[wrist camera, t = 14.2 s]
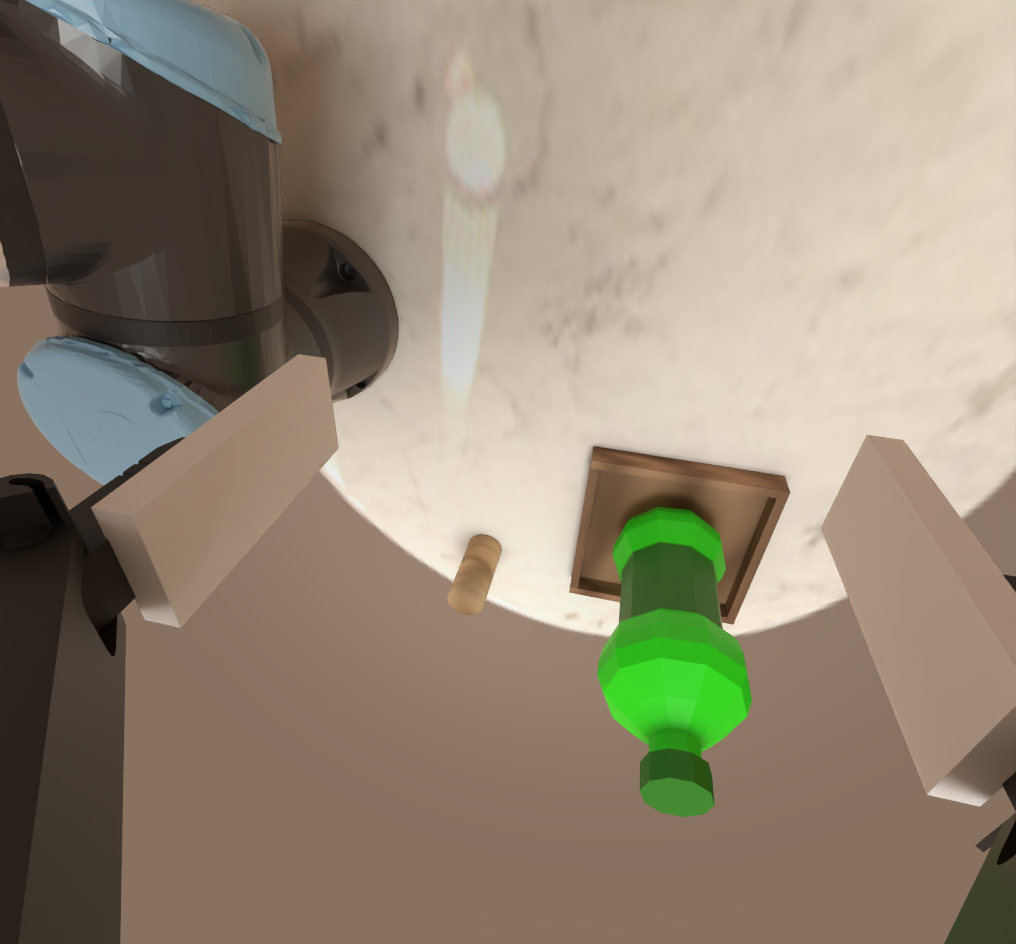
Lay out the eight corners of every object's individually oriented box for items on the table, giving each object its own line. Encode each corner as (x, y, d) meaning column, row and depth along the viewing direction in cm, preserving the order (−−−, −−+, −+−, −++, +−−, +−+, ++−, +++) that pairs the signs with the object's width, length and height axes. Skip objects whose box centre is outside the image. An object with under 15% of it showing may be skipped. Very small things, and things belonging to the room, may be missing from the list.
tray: (571, 576, 60) (569, 592, 58) (593, 446, 50) (591, 460, 48) (730, 606, 58) (733, 624, 56) (784, 476, 48) (790, 492, 46)
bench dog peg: (469, 556, 62) (447, 610, 55) (469, 532, 59) (447, 585, 53) (500, 562, 61) (482, 617, 55) (502, 538, 59) (483, 592, 52)
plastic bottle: (662, 467, 49) (671, 724, 29) (748, 532, 51) (812, 816, 31) (590, 529, 55) (555, 781, 35) (670, 585, 57) (681, 856, 37)
